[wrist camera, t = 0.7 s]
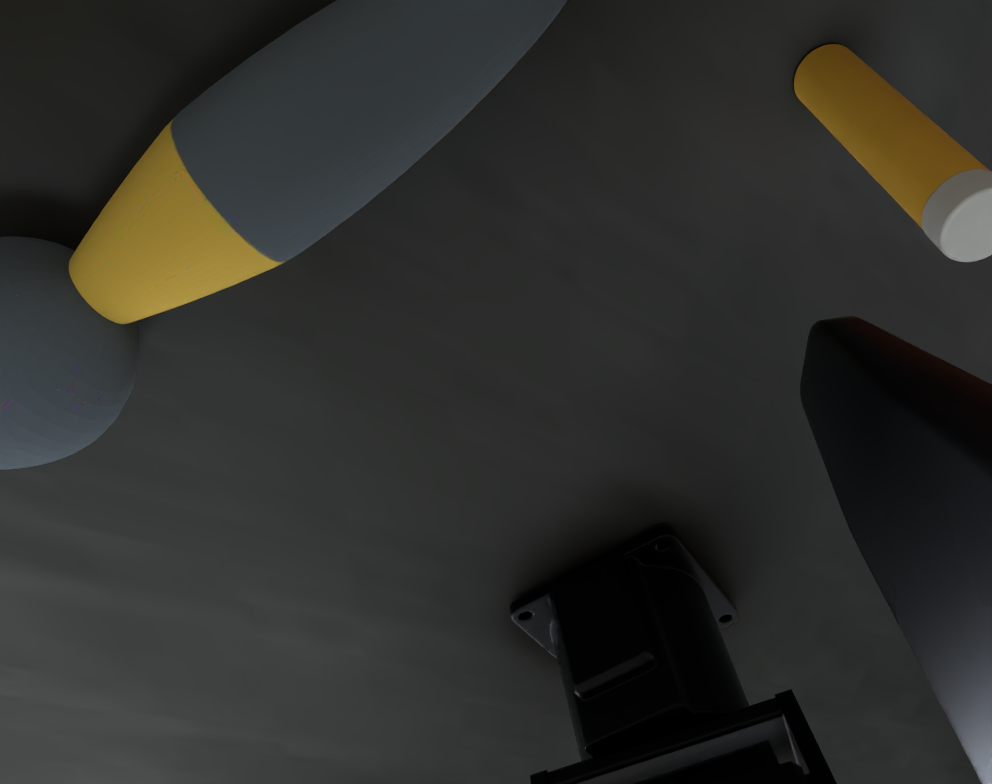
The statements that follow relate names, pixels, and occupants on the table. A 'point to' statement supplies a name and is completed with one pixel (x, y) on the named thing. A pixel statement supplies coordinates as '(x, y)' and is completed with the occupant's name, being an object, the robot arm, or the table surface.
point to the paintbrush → (239, 195)
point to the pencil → (901, 150)
